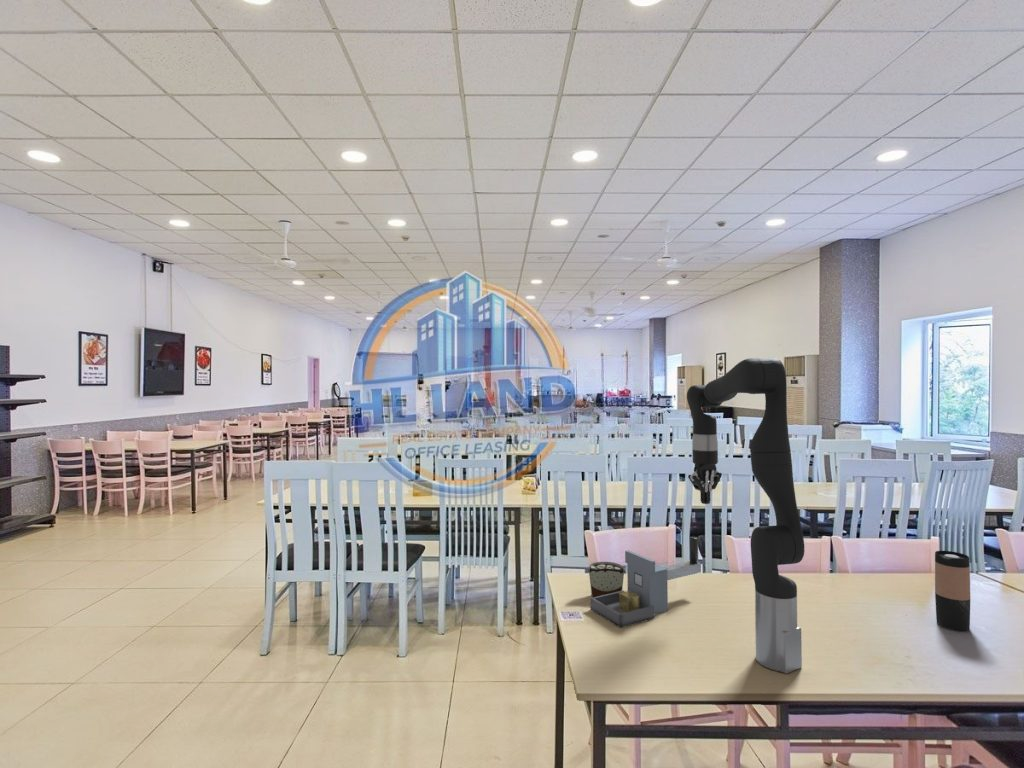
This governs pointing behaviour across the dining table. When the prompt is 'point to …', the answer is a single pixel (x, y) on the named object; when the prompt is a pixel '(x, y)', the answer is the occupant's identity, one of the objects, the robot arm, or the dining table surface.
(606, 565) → the food container
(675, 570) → the grey lever black handle
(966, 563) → the travel mug
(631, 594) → the block
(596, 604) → the tray
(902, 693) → the dining table surface
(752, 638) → the dining table surface
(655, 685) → the dining table surface
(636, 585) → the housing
